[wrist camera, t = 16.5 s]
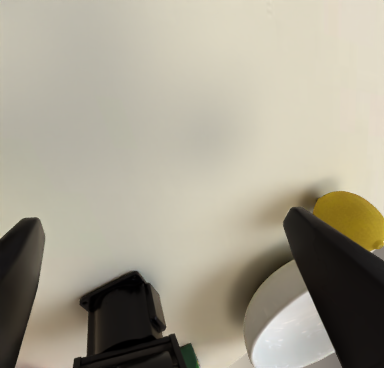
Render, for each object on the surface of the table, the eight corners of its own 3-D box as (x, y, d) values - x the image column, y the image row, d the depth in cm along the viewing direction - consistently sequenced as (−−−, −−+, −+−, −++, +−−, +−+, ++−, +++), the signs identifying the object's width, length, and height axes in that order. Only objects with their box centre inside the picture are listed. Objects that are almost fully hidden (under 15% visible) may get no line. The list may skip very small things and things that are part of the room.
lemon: (307, 179, 27) (373, 226, 21) (346, 177, 29) (417, 219, 22) (291, 220, 30) (346, 273, 23) (327, 216, 32) (387, 264, 25)
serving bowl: (284, 212, 29) (329, 255, 23) (376, 240, 38) (423, 275, 33) (201, 328, 36) (220, 383, 30) (296, 327, 45) (324, 368, 40)
